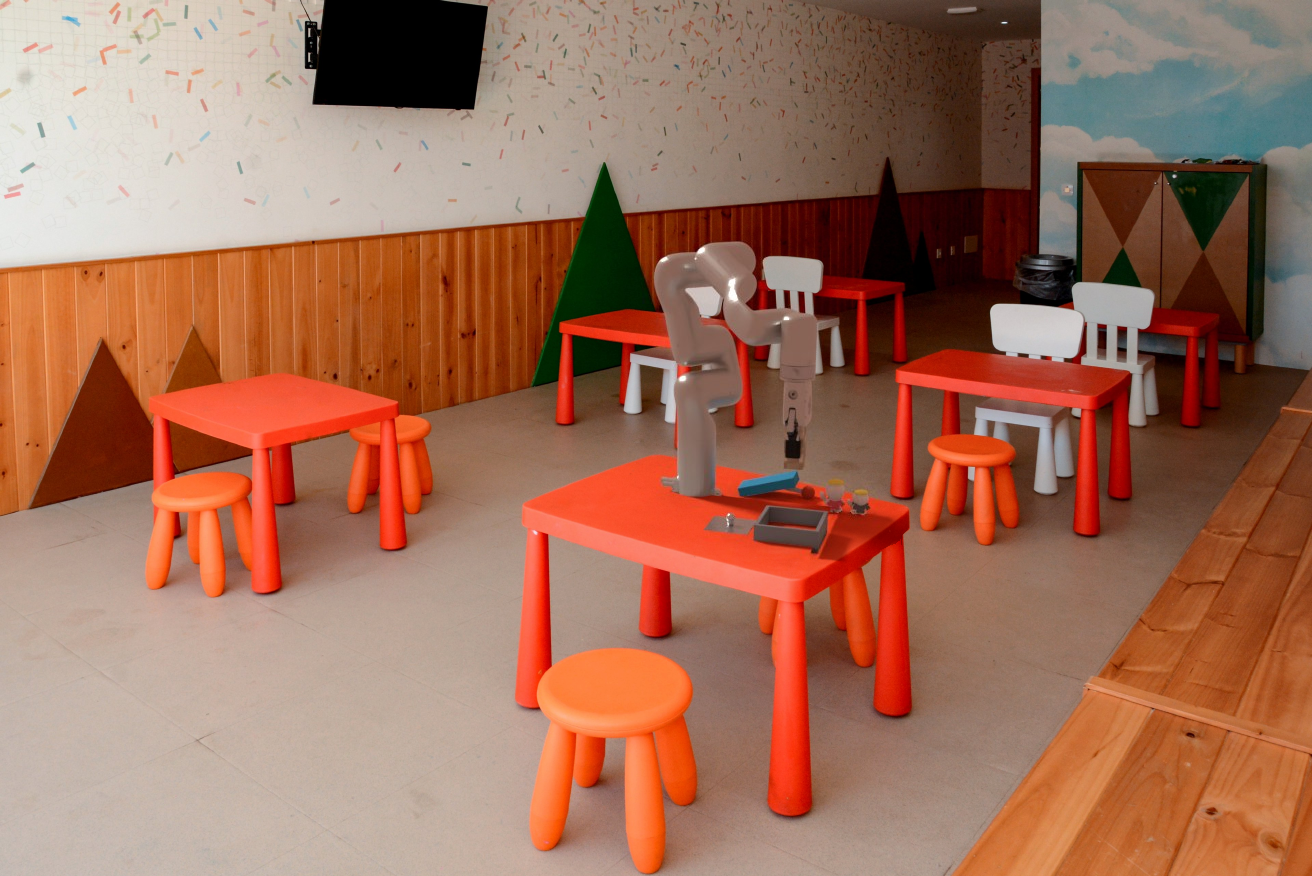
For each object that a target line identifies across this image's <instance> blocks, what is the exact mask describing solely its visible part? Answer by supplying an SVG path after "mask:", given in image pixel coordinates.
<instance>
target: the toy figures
mask: <svg viewBox="0 0 1312 876" xmlns="http://www.w3.org/2000/svg"><path fill="white" fill-rule="evenodd" d="M845 491H846V488H845V481H844V480H842V479H840V478H831V479H829V480H827V484H826V486H825V493H826V494H825V493H824V491H823V490H822V491H819V497H820V500H822V501H823V502H824V505H825V506H828V507H829V508H830V511H829V512H832V513H835V514H836V513H837V512H841V511H842V512H843V508H842V507H844V506H845V505H846V503H845V500H844V499H843V497H844V494H845ZM852 493H853V494H852V499H850V498H847V499H846V502H847V505H848V506H849V507H850V508H851V510H850V511H849V513H850V512H851V513H854V514H858V515H860V514H867V512H868V511H869V510H870V509H871V506H869V505H870V503H869V491H867V490H866V489H855V490H853V492H852ZM833 510H834V511H833ZM842 512H841V513H842ZM851 513H850V514H851ZM859 513H860V514H859ZM837 514H838V513H837ZM854 514H853V515H854Z"/></svg>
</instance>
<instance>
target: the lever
mask: <svg viewBox="0 0 1312 876" xmlns="http://www.w3.org/2000/svg"><path fill="white" fill-rule="evenodd" d="M799 481H800V476H799V472H798V470H792V471H787V472H783V473H776V474H771V475H766V476H761V477H756V478H751V479H745V480H742V481H741V483H740V484H739V485H738V487H737V492H738V495H739V497H741V496H744V497H743V498H746V497H750V496H755V495H760V494H761V495H762V494H766V493H771V492H772V493H773V492H777V491H781V490H782V491H783V490H785V491H790V492H793V493H796V494H799V495H801V497H802V498H803V499H805V500H812V499H813V498H814V497H815V496H816V495H815V494H816V491H815V489H814V487H812V486H809V485H806V486H804V487H803V488H799V487H797V486H798V483H799Z"/></svg>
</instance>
